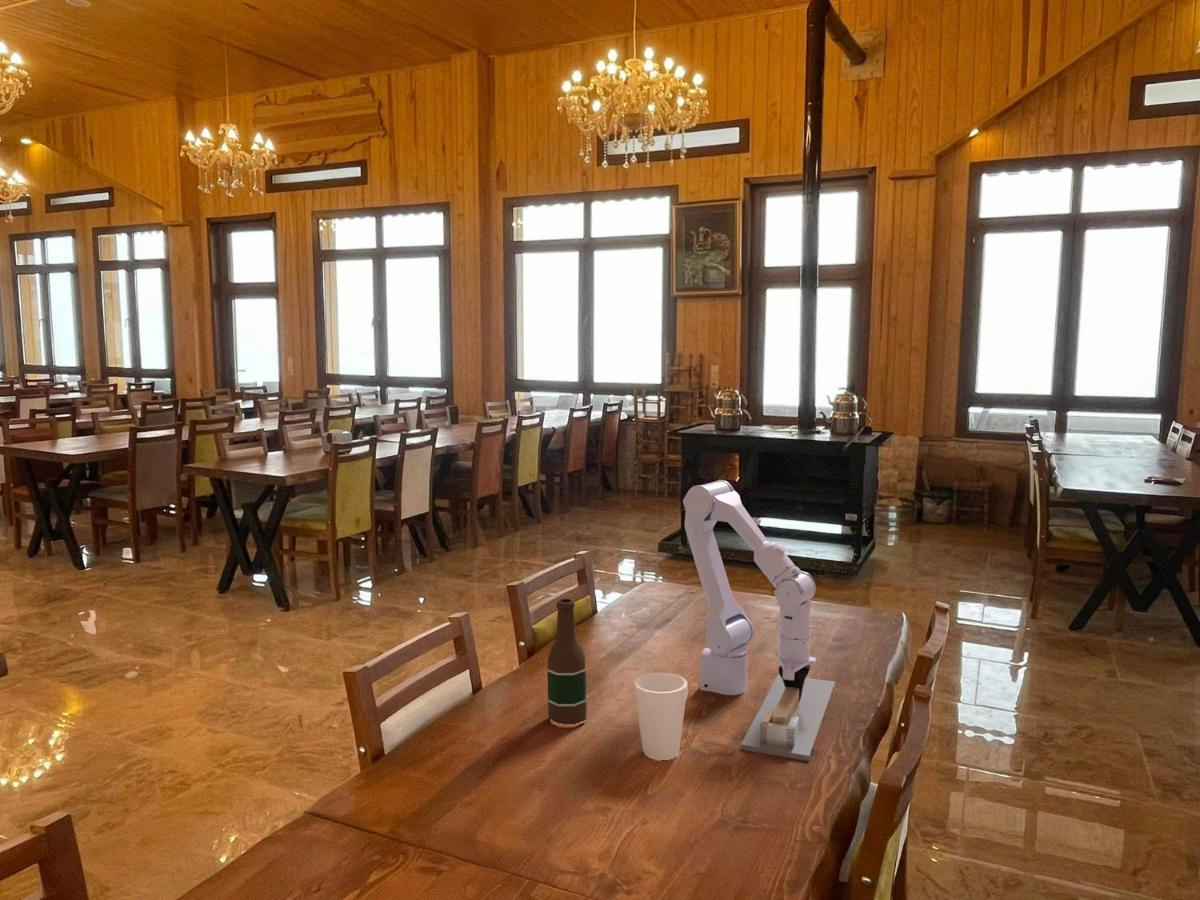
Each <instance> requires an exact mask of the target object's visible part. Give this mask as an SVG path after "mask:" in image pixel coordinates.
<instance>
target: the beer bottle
mask: <svg viewBox="0 0 1200 900" xmlns="http://www.w3.org/2000/svg"><path fill="white" fill-rule="evenodd" d="M575 606H576V602H575V600H574V599H571V598H561V599H558V600H557V601H556V605H555V607H556V608H557V619H556V636H555V641H554V642H553V644H552V646H551V647H550V652H549V653H548V654H549V655H548V658H547V666H546V667H547V669H546V671H547V704H548V705H547V706H548V707H547V708H548V709H547V711H548V720H549V719H552V720H553V721H555V722H557V723H562V724H576V723H579V722H581V721H584V720H587V707H588V705H587V703H588V702H587V700H588V699H587V662H586V661H587V659H586V653H585V650H584V648H583V646H582V644H581V643H580V642H579V641H578V639H577V633H576V624H575V623H576V622H575V621H576V620H575Z"/></svg>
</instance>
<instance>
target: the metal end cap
mask: <svg viewBox="0 0 1200 900" xmlns="http://www.w3.org/2000/svg"><path fill="white" fill-rule="evenodd" d="M772 716H773V712H766V714H765V716H764V718H763V720H762V722H761V724H760V743H764V744H770V745H776V746H782V747H788V748H794V746H795V743H796V741H797V738H798V735H799V716H793V715H792V718H791V720H790V722H789V725H788V726H787V725H781V724H774V723H772Z"/></svg>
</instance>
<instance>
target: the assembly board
mask: <svg viewBox="0 0 1200 900" xmlns="http://www.w3.org/2000/svg"><path fill="white" fill-rule="evenodd" d="M835 684H836V681H833V680H825V679H817V678H810V677H806V678H805V681H804V685H803V690H802V695H801V699H800V702H799V711H798V714H797V716H799V735H798V738H797V741H796V743H795V746H794V748H788V747H782V746H776V745H770V744H764V743H760V724H761V722H762V720H763V718H764V716H765V714H766V712H773V713H774V711H775V709H776V707H777V705H778V703H779V701H780V699H781V696H782V694H783V692H784V690H785V685H784V682H783V680H782V678H781V676H780V674H779V673H778V674H777V675H776V677H775V680H774V681H773V683H772V686H771V687H770V688H769V691H768V692H767V695H766V696H765V697H764V700H763V703H761V705H760V708H759V709H758V711H757V714H756V716H755V717H754V719H753V720H752V722H751V725H750V727H749V728H748V731H747V733H746V735H745V737H744V738H743V740H742V742H741V744H740V750H741V751H746V752H752V753H758V754H763V755H768V756H769V755H770V756H775V757H777V756H778V757H782V758H786V759H793V760H799V761H804V760H805V761H806V762H810V760H811V758H810V757H812V755H813V752H814V748H813V746H814V744H815V741H816V738H817V735H818V732H819V730H820V727H821V725H822V721H823V718H824V715H825V712H826V710H827V706H828V704H829V701H830V698H831V695H832V692H833V689H834V686H835Z"/></svg>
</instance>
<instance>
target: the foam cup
mask: <svg viewBox="0 0 1200 900" xmlns="http://www.w3.org/2000/svg"><path fill="white" fill-rule="evenodd" d="M688 684H689V683H688V680H686V679H685V678H684V677H683V676H680V675H679V674H676V673H671V672H666V671H665V672H649V673H645V674H642V675H639V676H638V677H636V678H635V679H634V682H633V696H634V699H635V704H636V705H635V706H636V711H637V712H636V713H637V719H638V724H639V725H638V726H639V731H640V732H639V733H640V738H641V739H640V740H641V747H642V751H643V752H644V753H645V755H646V756H648V757H649V758H652V759H657V760H668V761H671V760H670V759H672V760H674V759H676V758H677V757H678V756H679V754H680V748H681V747H680V746H681V739H682V733H683V725H684V717H685V708H686V703H687V702H686V700H687V699H688V694H689V691H688V690H689V689H688ZM644 753H643V754H644ZM645 755H644V756H645ZM646 756H645V757H646ZM675 757H676V758H675ZM649 758H648V759H649ZM673 758H674V759H673Z"/></svg>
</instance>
